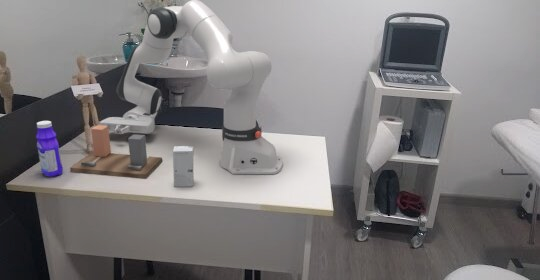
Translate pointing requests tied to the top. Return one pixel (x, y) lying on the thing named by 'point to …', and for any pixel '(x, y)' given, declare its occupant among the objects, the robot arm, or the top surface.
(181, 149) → the skincare box
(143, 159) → the grey tall block
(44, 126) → the bottle
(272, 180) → the top surface
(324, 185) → the top surface
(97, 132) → the plug terracotta
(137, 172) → the wooden board
